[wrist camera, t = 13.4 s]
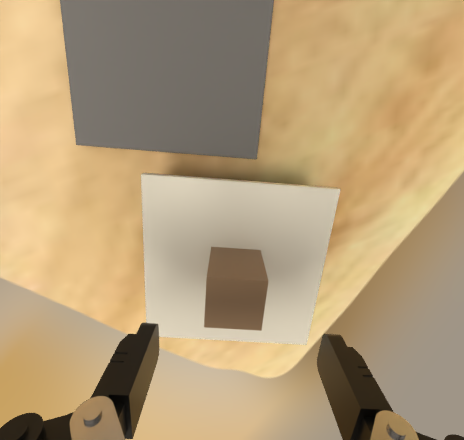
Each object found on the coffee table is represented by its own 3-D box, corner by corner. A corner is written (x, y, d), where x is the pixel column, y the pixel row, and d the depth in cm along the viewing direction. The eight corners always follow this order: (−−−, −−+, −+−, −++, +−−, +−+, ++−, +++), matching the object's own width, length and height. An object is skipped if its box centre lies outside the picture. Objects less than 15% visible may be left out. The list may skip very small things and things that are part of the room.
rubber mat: (280, -69, 17) (281, -73, 17) (256, 158, 22) (256, 159, 22) (52, -94, 17) (48, -99, 17) (78, 144, 22) (76, 144, 21)
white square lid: (336, 187, 18) (372, 206, 13) (304, 339, 22) (323, 391, 18) (143, 172, 17) (114, 187, 13) (148, 330, 21) (128, 381, 17)
